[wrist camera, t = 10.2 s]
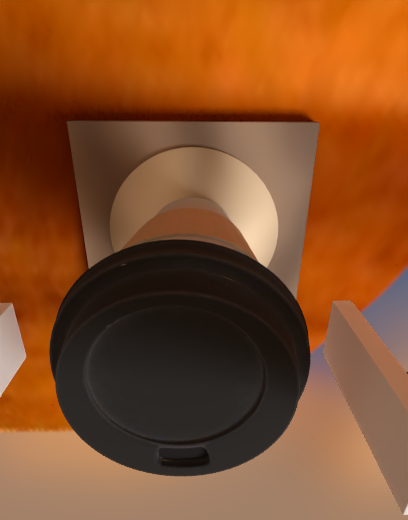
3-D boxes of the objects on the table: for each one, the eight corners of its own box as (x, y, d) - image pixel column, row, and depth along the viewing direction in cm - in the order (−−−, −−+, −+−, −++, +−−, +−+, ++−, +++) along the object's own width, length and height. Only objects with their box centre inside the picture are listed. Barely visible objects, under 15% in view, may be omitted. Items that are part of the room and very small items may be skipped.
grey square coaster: (100, 311, 29) (95, 321, 28) (73, 120, 23) (64, 121, 22) (289, 312, 29) (293, 322, 28) (314, 121, 23) (321, 122, 22)
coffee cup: (171, 311, 28) (137, 518, 14) (99, 210, 24) (-38, 353, 10) (280, 258, 26) (366, 437, 12) (219, 140, 22) (242, 203, 9)
